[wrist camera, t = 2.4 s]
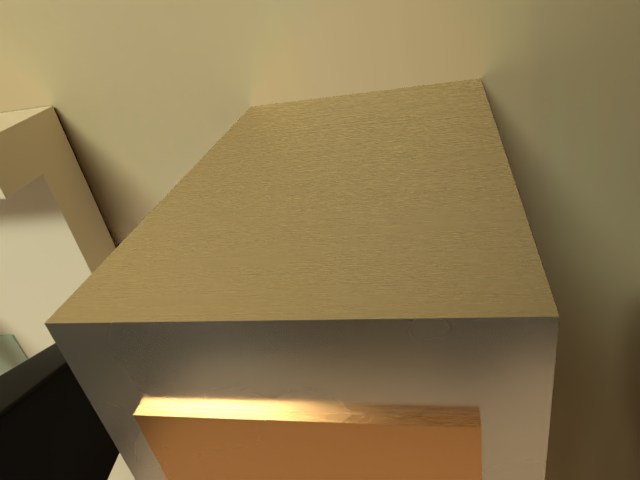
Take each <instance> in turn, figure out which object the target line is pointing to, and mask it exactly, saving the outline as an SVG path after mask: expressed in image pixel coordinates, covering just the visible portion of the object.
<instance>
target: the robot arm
mask: <svg viewBox="0 0 640 480" xmlns="http://www.w3.org/2000/svg"><path fill="white" fill-rule="evenodd" d="M119 453H120V452H119V451H118V449H117V447H116V446H115V444H114V442H113V440H112V439H111V437H110V435H109V434H108V432H107V430H106V428H105V427H104V425H103V423H102V422H101V420H100V418H99V416H98V415H97V413H96V411H95V410H94V408H93V406H92V404H91V403H90V401H89V399H88V398H87V396H86V394H85V392H84V391H83V389H82V387H81V386H80V384H79V382H78V380H77V379H76V377H75V375H74V374H73V372H72V370H71V368H70V367H69V365H68V363H67V362H66V360H65V358H64V356H63V355H62V353H61V351H60V350H59V348H58V346H57V344H56V343H54V344H53V345H51V346H49V347H48V348H46V349H44V350H42V351H41V352H39V353H37V354H36V355H34V356H32V357H31V358H29V359H27V360H26V361H24V362H22V363H21V364H19V365H17V366H16V367H14V368H12V369H10V370H9V371H7V372H5V373H4V374H2V375H0V480H108V478H109V475H110V473H111V471H112V469H113V466H114V464H115V462H116V460H117V457H118V455H119Z"/></svg>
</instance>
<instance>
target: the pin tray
mask: <svg viewBox="0 0 640 480" xmlns="http://www.w3.org/2000/svg"><path fill="white" fill-rule="evenodd" d="M115 249H116V247H115V245H114V243H113V240H112V238H111V236H110V234H109V231H108V229H107V227H106V225H105V222H104V220H103V218H102V216H101V214H100V211H99V209H98V207H97V205H96V202H95V200H94V198H93V196H92V193H91V191H90V189H89V187H88V184H87V182H86V180H85V178H84V175H83V173H82V171H81V169H80V166H79V164H78V162H77V160H76V158H75V155H74V153H73V151H72V149H71V146H70V144H69V142H68V140H67V137H66V135H65V133H64V131H63V128H62V126H61V124H60V122H59V119H58V117H57V115H56V113H55V110H54V108H53V106H49V107H41V108H34V109H27V110H20V111H12V112H5V113H0V375H2V374H4V373H5V372H7V371H9V370H10V369H12V368H14V367H16V366H17V365H19V364H21V363H22V362H24V361H26V360H27V359H29V358H31V357H32V356H34V355H36V354H37V353H39V352H41V351H42V350H44V349H46V348H48V347H49V346H51V345H53V344H54V343H55V341H54V339H53V338H52V336H51V334H50V332H49V331H48V329H47V327H46V326H45V324H44V323H45V322H46V321H47V320H48V319H49V318H50V317H51V316H52V315H53V314H54V313H55V312H56V311H57V310H58V308H59V307H60V306H61V305H62V304H63V303H64V302H65V301H66V300H67V299H68V298H69V297H70V296H71V295H72V294H73V293H74V292H75V291H76V290H77V289H78V288H79V286H80V285H81V284H82V283H83V282H84V281H85V280H86V279H87V278H88V277H89V276H90V275H91V274H92V273H93V272H94V271H95V270H96V269H97V268H98V267H99V266H100V264H101V263H102V262H103V261H104V260H105V259H106V258H107V257H108V256H109V255H110V254H111V253H112V252H113V251H114V250H115ZM108 480H135V478H134V476H133V475H132V473H131V471H130V470H129V468H128V466H127V464H126V463H125V461H124V459H123V458H122V456H121V454H120V453H119V455H118V457H117V460H116V462H115V464H114V466H113V469H112V471H111V473H110V475H109V478H108Z"/></svg>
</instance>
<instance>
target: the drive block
mask: <svg viewBox="0 0 640 480" xmlns="http://www.w3.org/2000/svg"><path fill="white" fill-rule="evenodd" d="M44 324H45V326H46V327H47V329H48V331H49V332H50V334H51V336H52V338H53V339H54V341H55V343H56V344H57V346H58V348H59V350H60V351H61V353H62V355H63V356H64V358H65V360H66V362H67V363H68V365H69V367H70V368H71V370H72V372H73V374H74V375H75V377H76V379H77V380H78V382H79V384H80V386H81V387H82V389H83V391H84V392H85V394H86V396H87V398H88V399H89V401H90V403H91V404H92V406H93V408H94V410H95V411H96V413H97V415H98V416H99V418H100V420H101V422H102V423H103V425H104V427H105V428H106V430H107V432H108V434H109V435H110V437H111V439H112V440H113V442H114V444H115V446H116V447H117V449H118V451H119V452H120V454H121V456H122V458H123V459H124V461H125V463H126V464H127V466H128V468H129V470H130V471H131V473H132V475H133V476H134V478H135V480H545V471H546V460H547V449H548V438H549V427H550V415H551V404H552V393H553V382H554V371H555V360H556V349H557V338H558V326H559V314H558V311H557V308H556V305H555V302H554V299H553V296H552V293H551V290H550V287H549V284H548V281H547V278H546V275H545V272H544V269H543V266H542V263H541V260H540V256H539V253H538V250H537V247H536V244H535V241H534V238H533V235H532V232H531V229H530V226H529V223H528V220H527V217H526V214H525V211H524V208H523V205H522V202H521V199H520V196H519V193H518V190H517V187H516V184H515V181H514V178H513V175H512V172H511V169H510V166H509V163H508V160H507V157H506V154H505V151H504V148H503V145H502V142H501V139H500V136H499V133H498V130H497V126H496V123H495V120H494V117H493V114H492V111H491V108H490V105H489V102H488V99H487V96H486V93H485V90H484V87H483V84H482V81H481V78H479V79H471V80H463V81H455V82H447V83H439V84H431V85H422V86H414V87H406V88H398V89H390V90H382V91H374V92H366V93H358V94H350V95H342V96H333V97H325V98H317V99H309V100H301V101H293V102H285V103H277V104H269V105H261V106H253V107H250V108H249V109H248V110H247V111H246V112H245V113H244V114H243V116H242V117H241V118H240V119H239V120H238V121H237V122H236V123H235V124H234V125H233V126H232V127H231V128H230V129H229V130H228V131H227V132H226V133H225V134H224V135H223V136H222V138H221V139H220V140H219V141H218V142H217V143H216V144H215V145H214V146H213V147H212V148H211V149H210V150H209V151H208V152H207V153H206V154H205V155H204V156H203V157H202V159H201V160H200V161H199V162H198V163H197V164H196V165H195V166H194V167H193V168H192V169H191V170H190V171H189V172H188V173H187V174H186V175H185V176H184V177H183V178H182V179H181V181H180V182H179V183H178V184H177V185H176V186H175V187H174V188H173V189H172V190H171V191H170V192H169V193H168V194H167V195H166V196H165V197H164V198H163V199H162V200H161V202H160V203H159V204H158V205H157V206H156V207H155V208H154V209H153V210H152V211H151V212H150V213H149V214H148V215H147V216H146V217H145V218H144V219H143V220H142V221H141V223H140V224H139V225H138V226H137V227H136V228H135V229H134V230H133V231H132V232H131V233H130V234H129V235H128V236H127V237H126V238H125V239H124V240H123V241H122V242H121V243H120V245H119V246H118V247H117V248H116V249H115V250H114V251H113V252H112V253H111V254H110V255H109V256H108V257H107V258H106V259H105V260H104V261H103V262H102V263H101V264H100V266H99V267H98V268H97V269H96V270H95V271H94V272H93V273H92V274H91V275H90V276H89V277H88V278H87V279H86V280H85V281H84V282H83V283H82V284H81V285H80V286H79V288H78V289H77V290H76V291H75V292H74V293H73V294H72V295H71V296H70V297H69V298H68V299H67V300H66V301H65V302H64V303H63V304H62V305H61V306H60V307H59V308H58V310H57V311H56V312H55V313H54V314H53V315H52V316H51V317H50V318H49V319H48V320H47V321H46V322H45V323H44Z"/></svg>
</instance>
